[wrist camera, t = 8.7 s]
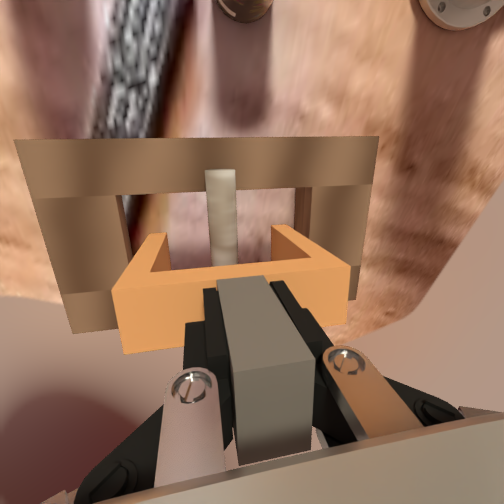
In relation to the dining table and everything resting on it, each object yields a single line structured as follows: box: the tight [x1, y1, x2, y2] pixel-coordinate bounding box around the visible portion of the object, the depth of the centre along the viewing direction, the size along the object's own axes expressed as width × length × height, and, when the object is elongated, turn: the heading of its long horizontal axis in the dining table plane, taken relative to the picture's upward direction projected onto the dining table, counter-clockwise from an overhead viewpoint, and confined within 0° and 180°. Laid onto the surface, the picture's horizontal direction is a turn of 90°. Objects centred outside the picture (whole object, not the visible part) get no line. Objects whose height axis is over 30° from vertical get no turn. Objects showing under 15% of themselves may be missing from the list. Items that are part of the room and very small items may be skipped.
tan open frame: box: [14, 136, 379, 334], centre depth 26 cm, size 24×14×14 cm, turn 91°
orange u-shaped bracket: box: [111, 224, 351, 466], centre depth 14 cm, size 10×3×15 cm, turn 91°
